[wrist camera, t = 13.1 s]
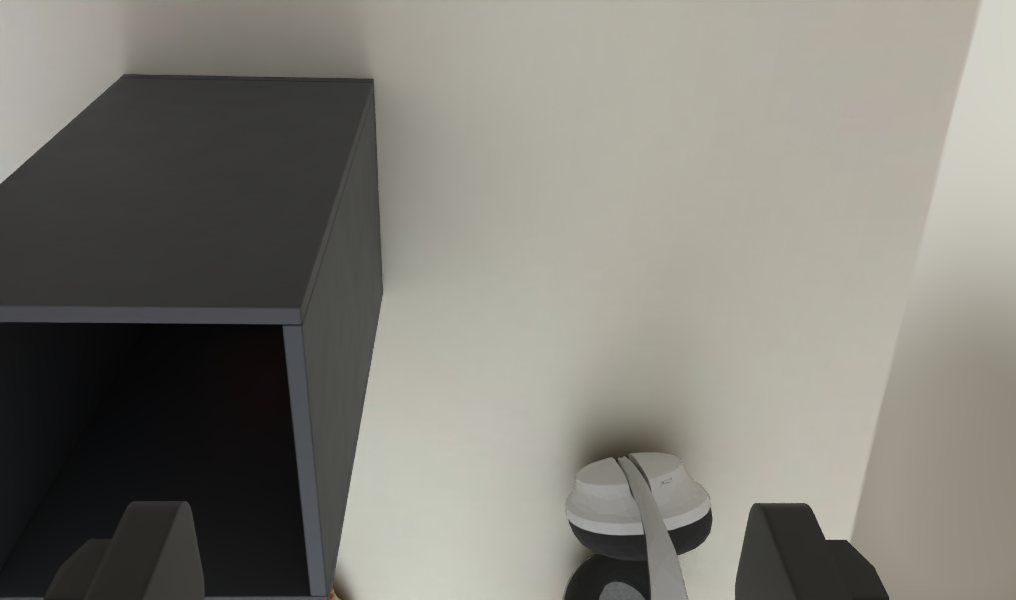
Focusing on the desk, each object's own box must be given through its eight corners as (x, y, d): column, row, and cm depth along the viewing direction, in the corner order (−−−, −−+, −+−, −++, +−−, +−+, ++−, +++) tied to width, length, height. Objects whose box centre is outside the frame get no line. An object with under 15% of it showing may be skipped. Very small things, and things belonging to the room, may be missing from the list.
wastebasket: (123, 74, 46) (-137, 303, 27) (373, 78, 47) (300, 307, 27) (161, 291, 52) (-27, 610, 33) (382, 294, 53) (328, 608, 33)
